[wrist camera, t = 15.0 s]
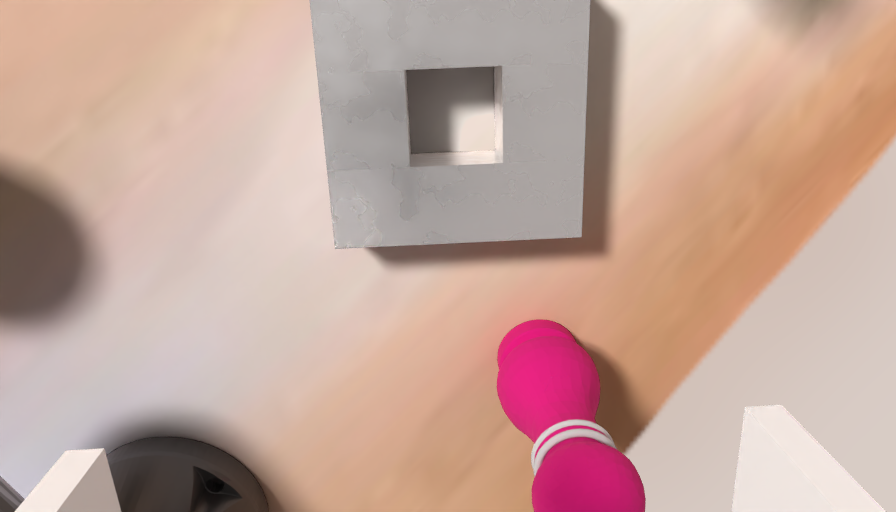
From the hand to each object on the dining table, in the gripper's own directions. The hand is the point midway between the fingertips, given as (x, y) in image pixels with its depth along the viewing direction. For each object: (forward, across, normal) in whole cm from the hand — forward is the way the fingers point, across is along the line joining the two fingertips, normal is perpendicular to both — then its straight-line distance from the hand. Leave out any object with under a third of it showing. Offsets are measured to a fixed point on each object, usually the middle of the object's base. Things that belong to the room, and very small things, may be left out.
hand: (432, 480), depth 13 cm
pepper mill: (+33, +8, -15) cm, 37 cm away
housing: (+32, +2, +4) cm, 33 cm away
